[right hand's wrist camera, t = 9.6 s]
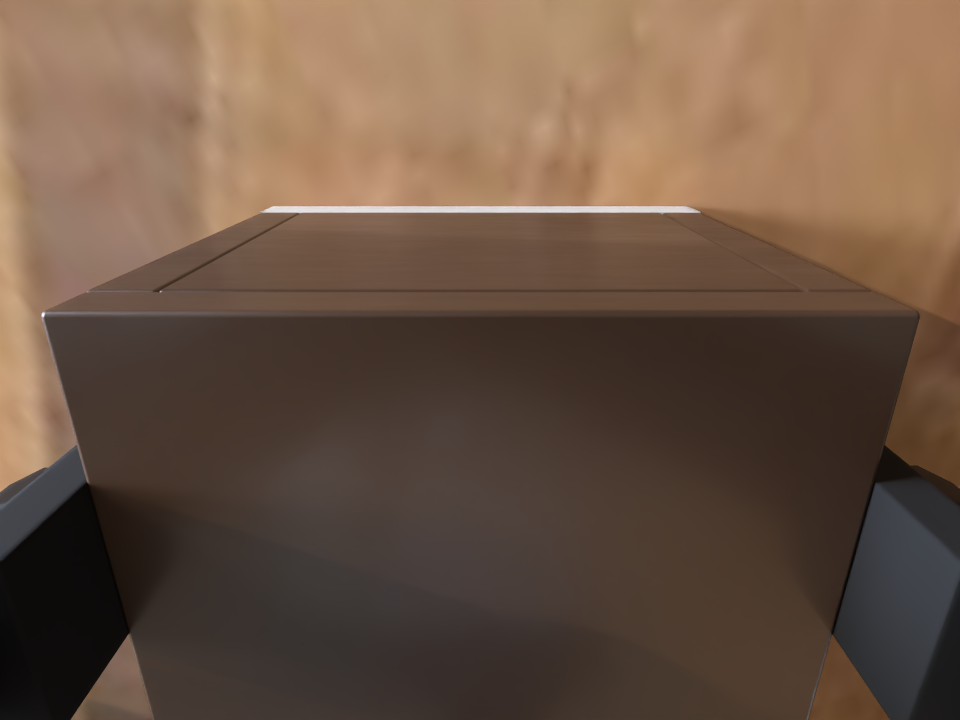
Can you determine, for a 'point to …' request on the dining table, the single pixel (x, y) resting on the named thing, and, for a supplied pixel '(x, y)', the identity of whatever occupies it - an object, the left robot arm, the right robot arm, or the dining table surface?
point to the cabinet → (480, 463)
